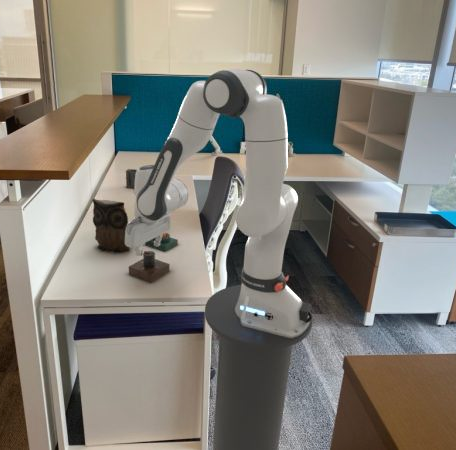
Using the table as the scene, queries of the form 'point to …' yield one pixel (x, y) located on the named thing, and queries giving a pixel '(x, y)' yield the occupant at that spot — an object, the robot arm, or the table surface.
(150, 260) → the rod knob
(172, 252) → the table surface
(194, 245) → the table surface
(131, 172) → the camera
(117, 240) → the owl
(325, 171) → the table surface
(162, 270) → the knob panel
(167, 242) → the button box
